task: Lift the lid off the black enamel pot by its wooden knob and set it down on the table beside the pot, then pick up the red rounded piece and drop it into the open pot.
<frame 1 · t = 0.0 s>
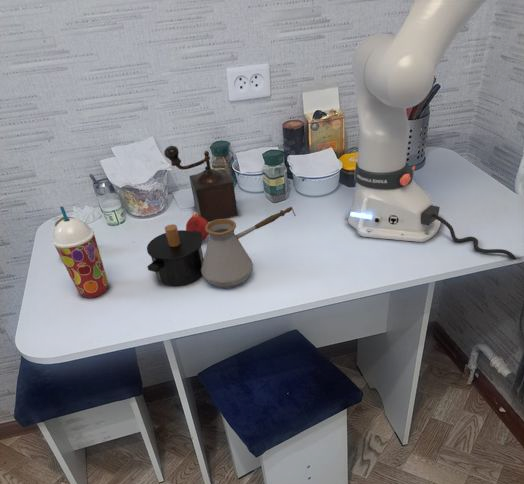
salt shaker: (78, 255, 119), on the table
smoothie: (94, 291, 106), on the table
red rounded piece: (200, 243, 118), on the table
pot lid: (175, 245, 104), point 7 cm above the table, touching pot
coffee pot: (250, 276, 105), on the table
coffee grinder: (206, 213, 130), on the table
pot: (181, 272, 108), on the table
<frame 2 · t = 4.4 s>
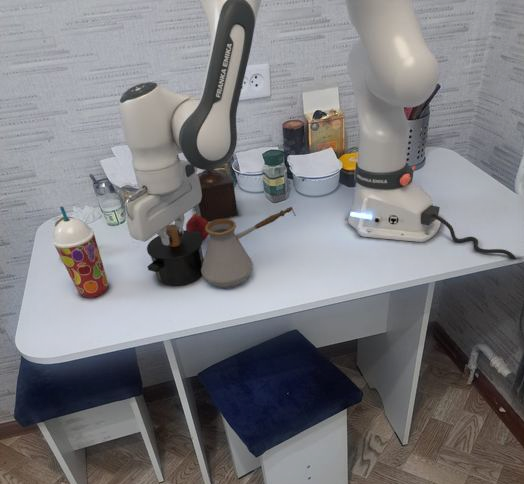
hand: (173, 239, 103), 9 cm above the table, tool pointing down, fingers closed on pot lid, 2 cm apart
pot lid: (175, 245, 104), point 7 cm above the table, touching gripper, pot
everything else where it was.
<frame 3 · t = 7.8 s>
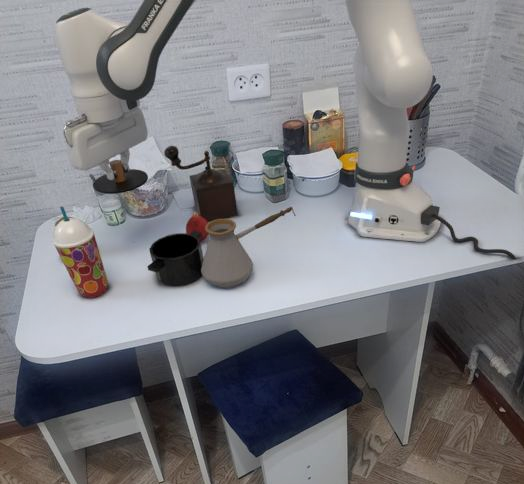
hand: (119, 175, 105), 19 cm above the table, tool pointing down, fingers closed on pot lid, 2 cm apart
pot lid: (121, 182, 106), point 18 cm above the table, touching gripper
everything else where it was.
when the fingers open (2 cm above the table, at t = 11.1 s): pot lid stays where it is, point 1 cm above the table.
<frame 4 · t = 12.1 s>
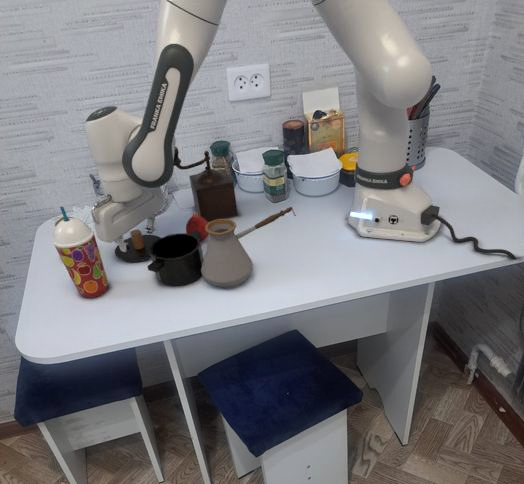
hand: (138, 241, 116), 3 cm above the table, tool pointing down, fingers open, 8 cm apart
pot lid: (140, 248, 117), point 1 cm above the table
everything else where it was.
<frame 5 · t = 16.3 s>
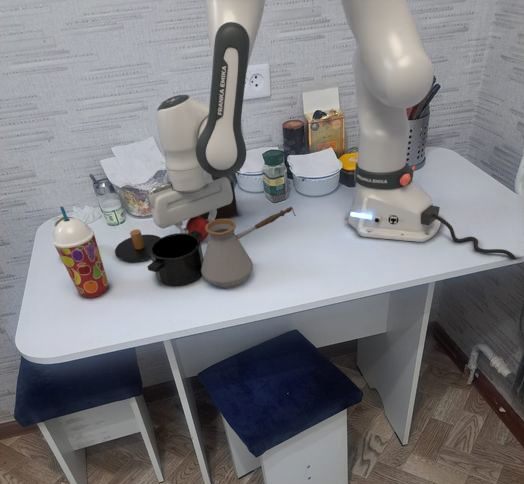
hand: (198, 231, 116), 3 cm above the table, tool pointing down, fingers closed on red rounded piece, 6 cm apart
red rounded piece: (200, 243, 118), on the table, touching gripper
everything else where it was.
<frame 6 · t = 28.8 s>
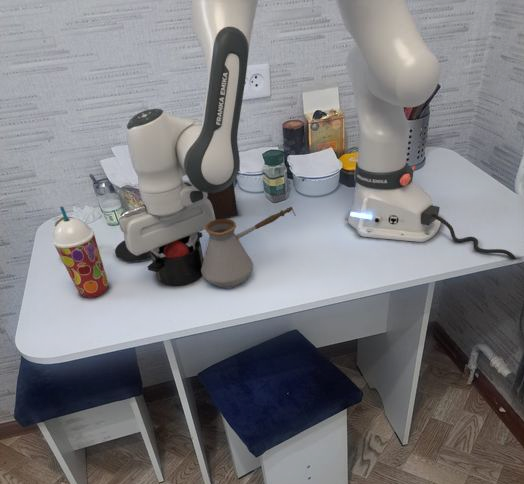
hand: (177, 256, 106), 4 cm above the table, tool pointing down, fingers closed on red rounded piece, 6 cm apart
red rounded piece: (180, 269, 108), point 1 cm above the table, touching gripper
everything else where it was.
when the fingers open (7 cm above the table, at t = 43.2 s): red rounded piece drops 3 cm, resting on pot.
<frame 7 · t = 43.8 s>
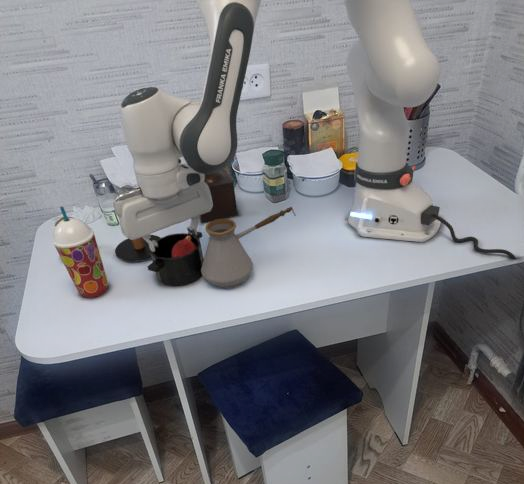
hand: (174, 242, 103), 8 cm above the table, tool pointing down, fingers open, 8 cm apart
red rounded piece: (181, 269, 108), point 1 cm above the table, touching gripper, pot
everything else where it was.
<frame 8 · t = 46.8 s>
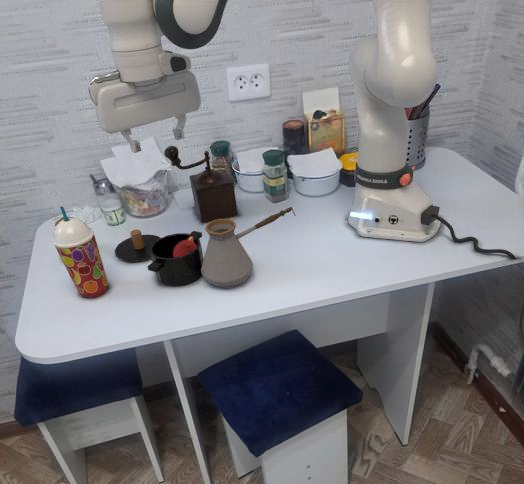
hand: (158, 145, 93), 27 cm above the table, tool pointing down, fingers open, 8 cm apart
red rounded piece: (181, 269, 108), point 1 cm above the table, touching pot
everything else where it was.
at the end: pot lid inside the target area (0.1 cm from its centre), point 0.6 cm above the table; pot lid tilted 0°; red rounded piece inside the target area in the pot (0.2 cm from its centre), point 0.9 cm above the pot's base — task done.
